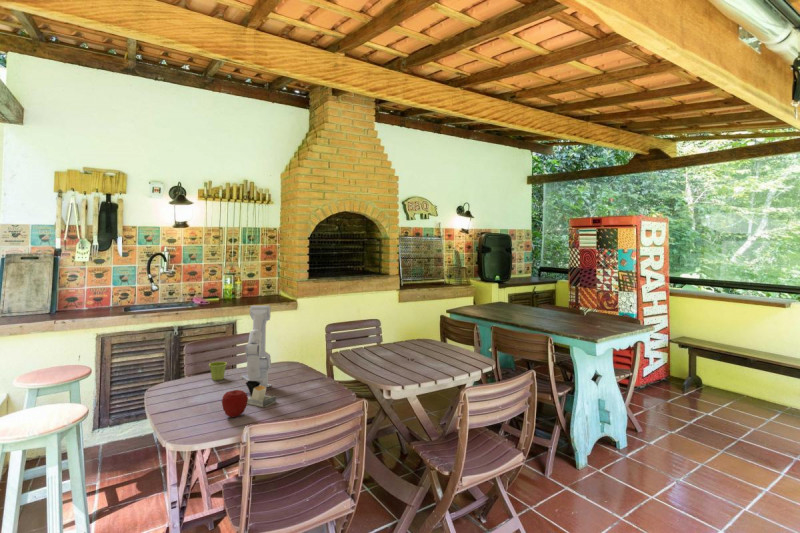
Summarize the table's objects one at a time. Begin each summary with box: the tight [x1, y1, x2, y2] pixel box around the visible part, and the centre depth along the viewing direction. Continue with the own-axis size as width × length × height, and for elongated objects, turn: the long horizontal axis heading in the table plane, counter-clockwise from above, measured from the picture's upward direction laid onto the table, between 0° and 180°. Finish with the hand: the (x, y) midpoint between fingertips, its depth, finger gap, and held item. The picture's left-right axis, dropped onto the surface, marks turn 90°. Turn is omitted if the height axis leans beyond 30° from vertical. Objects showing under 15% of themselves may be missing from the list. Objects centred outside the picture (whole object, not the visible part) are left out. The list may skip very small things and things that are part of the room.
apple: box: [221, 389, 249, 418], centre depth 184 cm, size 11×11×12 cm
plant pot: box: [208, 361, 228, 381], centre depth 235 cm, size 9×9×9 cm
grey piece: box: [247, 394, 277, 409], centre depth 201 cm, size 15×8×3 cm, turn 66°
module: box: [251, 385, 267, 401], centre depth 201 cm, size 4×4×6 cm
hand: (253, 396), depth 202 cm, fingers closed
